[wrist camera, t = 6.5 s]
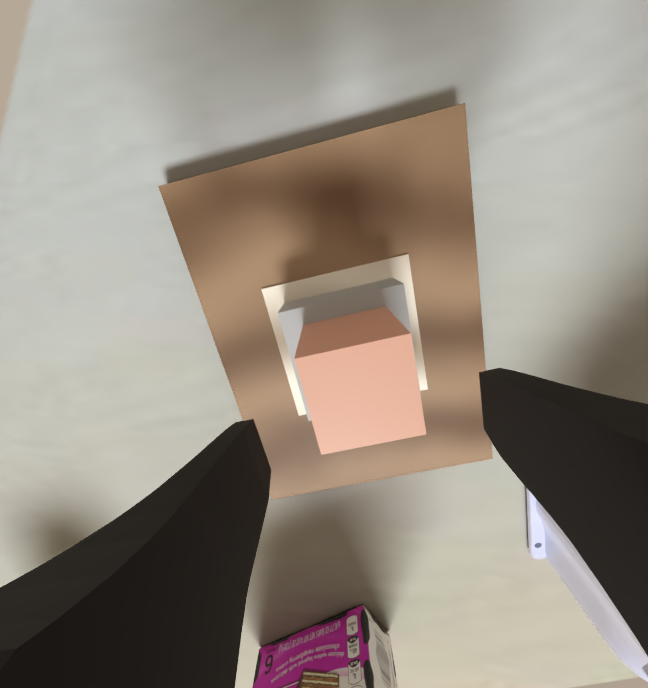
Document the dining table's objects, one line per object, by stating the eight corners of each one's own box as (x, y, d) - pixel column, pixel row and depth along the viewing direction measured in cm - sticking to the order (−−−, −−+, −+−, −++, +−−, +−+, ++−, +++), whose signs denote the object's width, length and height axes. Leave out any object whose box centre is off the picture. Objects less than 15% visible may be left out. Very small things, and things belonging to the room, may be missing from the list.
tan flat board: (485, 448, 21) (493, 459, 20) (274, 488, 22) (271, 500, 21) (456, 111, 15) (465, 102, 14) (167, 189, 16) (157, 185, 15)
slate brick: (408, 377, 18) (421, 398, 16) (310, 398, 19) (308, 421, 17) (392, 277, 17) (403, 283, 14) (284, 302, 17) (277, 313, 15)
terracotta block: (398, 382, 16) (426, 434, 12) (322, 398, 16) (321, 454, 12) (385, 306, 15) (411, 333, 10) (302, 325, 15) (294, 358, 11)
